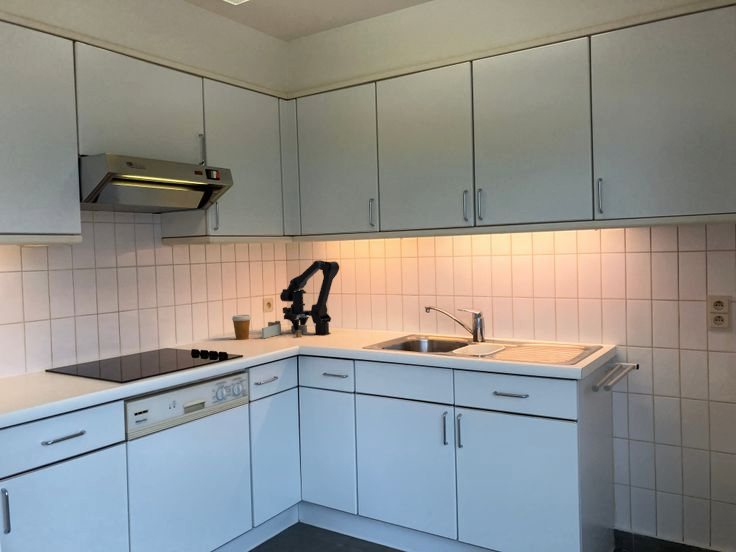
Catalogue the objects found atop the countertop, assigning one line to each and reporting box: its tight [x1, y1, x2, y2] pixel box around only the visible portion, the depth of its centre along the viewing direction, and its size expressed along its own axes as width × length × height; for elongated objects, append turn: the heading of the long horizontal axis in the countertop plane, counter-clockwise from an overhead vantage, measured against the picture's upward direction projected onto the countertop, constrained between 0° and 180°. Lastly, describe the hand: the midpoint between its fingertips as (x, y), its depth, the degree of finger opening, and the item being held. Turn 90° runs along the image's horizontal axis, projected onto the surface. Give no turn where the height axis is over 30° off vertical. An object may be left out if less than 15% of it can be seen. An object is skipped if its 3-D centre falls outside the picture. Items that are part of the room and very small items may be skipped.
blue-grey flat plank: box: [261, 323, 282, 339], centre depth 331 cm, size 16×1×6 cm, turn 153°
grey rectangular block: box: [290, 324, 308, 334], centre depth 341 cm, size 7×4×4 cm, turn 63°
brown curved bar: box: [267, 320, 303, 338], centre depth 335 cm, size 27×2×7 cm, turn 43°
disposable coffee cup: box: [231, 314, 251, 341], centre depth 326 cm, size 10×10×12 cm
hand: (299, 330), depth 341 cm, fingers closed on grey rectangular block, 4 cm apart
